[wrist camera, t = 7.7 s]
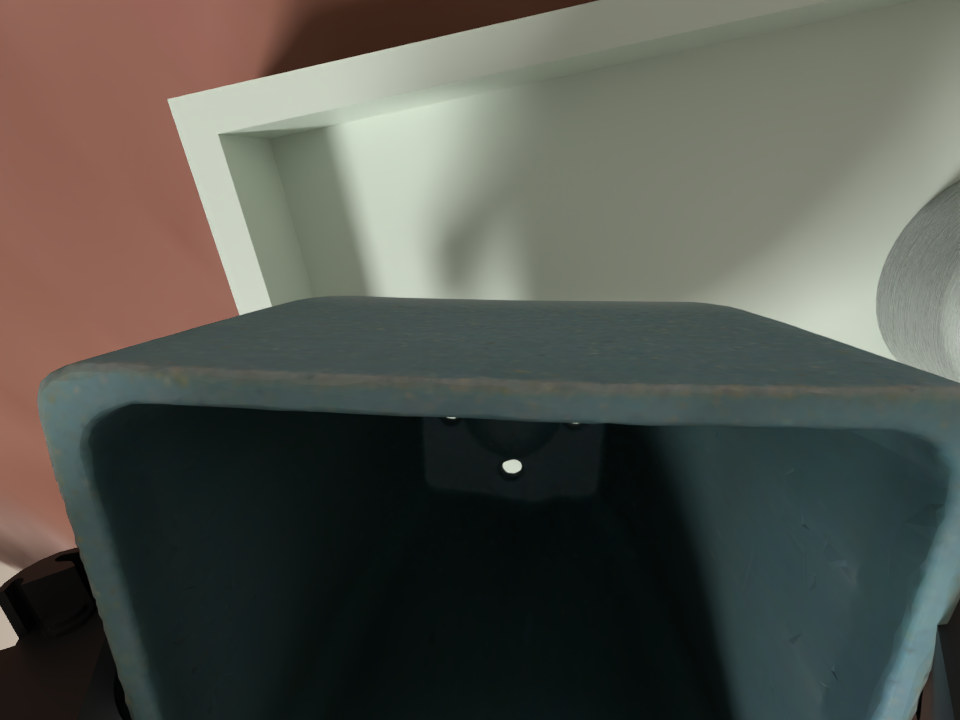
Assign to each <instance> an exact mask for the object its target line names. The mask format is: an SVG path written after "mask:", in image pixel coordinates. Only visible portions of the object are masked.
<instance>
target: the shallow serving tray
mask: <svg viewBox="0 0 960 720" xmlns="http://www.w3.org/2000/svg"><path fill="white" fill-rule="evenodd" d="M167 100H168V103H169V106H170V109H171V112H172V115H173V118H174V121H175V124H176V127H177V130H178V133H179V136H180V139H181V142H182V145H183V148H184V151H185V154H186V157H187V160H188V162H189V165H190V168H191V171H192V174H193V177H194V180H195V183H196V186H197V189H198V192H199V195H200V198H201V201H202V204H203V207H204V210H205V213H206V216H207V219H208V222H209V225H210V228H211V231H212V234H213V237H214V240H215V243H216V246H217V249H218V252H219V255H220V258H221V261H222V264H223V267H224V270H225V273H226V276H227V279H228V282H229V285H230V288H231V291H232V294H233V297H234V300H235V303H236V306H237V309H238V312H239V315H243V314H246V313H250V312H253V311H257V310H261V309H265V308H269V307H272V306H276V305H280V304H284V303H288V302H292V301H296V300H301V299H307V298H314V297H325V296H374V297H398V298H438V299H480V300H534V301H644V302H700V303H710V304H716V305H723V306H729V307H733V308H737V309H741V310H745V311H748V312H751V313H754V314H757V315H761V316H764V317H767V318H771V319H774V320H777V321H780V322H784V323H787V324H790V325H793V326H796V327H798V328H801V329H804V330H807V331H809V332H812V333H815V334H819V335H822V336H825V337H828V338H831V339H833V340H836V341H839V342H842V343H845V344H848V345H851V346H854V347H857V348H859V349H862V350H865V351H868V352H871V353H874V354H877V355H880V356H883V357H885V358H888V359H891V360H894V361H897V360H896V359H895V357H894V356H893V355H892V354H891V352H890V351H889V349H888V348H887V346H886V344H885V342H884V340H883V338H882V335H881V332H880V330H879V326H878V321H877V315H876V295H877V287H878V282H879V278H880V274H881V271H882V268H883V265H884V263H885V260H886V258H887V255H888V254H889V252H890V250H891V248H892V246H893V244H894V242H895V241H896V239H897V238H898V236H899V235H900V233H901V232H902V231H903V229H904V228H905V226H906V225H907V224H908V223H909V222H910V220H911V219H912V218H913V217H914V216H915V215H916V214H917V212H918V211H920V210H921V209H922V208H923V207H924V206H925V205H926V204H927V203H928V202H929V201H930V200H931V199H933V198H934V197H935V196H937V195H938V194H939V193H940V192H942V191H943V190H944V189H946V188H947V187H949V186H951V185H952V184H954V183H955V182H957V181H959V180H960V0H598V1H594V2H589V3H585V4H581V5H576V6H572V7H568V8H563V9H559V10H555V11H550V12H546V13H542V14H537V15H533V16H528V17H524V18H520V19H515V20H511V21H507V22H502V23H498V24H494V25H489V26H485V27H480V28H476V29H472V30H467V31H463V32H459V33H454V34H450V35H446V36H441V37H437V38H433V39H428V40H424V41H419V42H415V43H411V44H406V45H402V46H398V47H393V48H389V49H385V50H380V51H376V52H372V53H367V54H363V55H358V56H354V57H350V58H345V59H341V60H337V61H332V62H328V63H324V64H319V65H315V66H311V67H306V68H302V69H297V70H293V71H289V72H284V73H280V74H276V75H271V76H267V77H263V78H258V79H254V80H249V81H245V82H241V83H236V84H232V85H228V86H223V87H219V88H215V89H210V90H206V91H202V92H197V93H193V94H188V95H184V96H180V97H175V98H171V99H167ZM897 362H898V361H897ZM448 418H455V417H448ZM521 467H522V465H521V463H520V462H519V461H518V460H514V459H513V460H509V461H506V462H504V463H503V468H504V470H505V471H506V472H508V473H516V472H518V471H520V470H521Z"/></svg>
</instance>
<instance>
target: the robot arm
mask: <svg viewBox="0 0 960 720" xmlns="http://www.w3.org/2000/svg"><path fill="white" fill-rule="evenodd" d="M0 606H1V607H2V609H3V611H4V613H5V614H6V616H7V618H8V620H9V622H10V623H11V625H12V627H13V629H14V630H15V632H16V634H17V636H18V637H19V640H18V642H17V643H16V645H15V646H13V647H10V648H7V649H3V650H0V720H132V719H131V716H130V712H129V709H128V707H127V705H126V703H125V693H124V690H123V687H122V684H121V682H120V680H119V678H118V672H117V667H116V663H115V661H114V658H113V655H112V652H111V649H110V646H109V643H108V640H107V637H106V634H105V631H104V627H103V620H102V619H101V617H100V616H99V614H98V608H97V605H96V599H95V598H94V597H93V594H92V590H91V587H90V583H89V579H88V576H87V573H86V571H85V568H84V564H83V562H82V560H81V559H80V549H79V548H73V549H70V550H66V551H62V552H59V553H56V554H54V555H52V556H49V557H47V558H44V559H42V560H40V561H38V562H36V563H34V564H32V565H31V566H29V567H27V568H25V569H23V570H22V571H20V572H19V573H17V574H16V575H15V576H13V577H12V578H11V579H9V580H8V581H7V582H5V583H4V584H3V585H2V586H1V587H0ZM912 720H960V599H959V601H958V603H957V605H956V608H955V610H954V612H953V614H952V616H951V618H950V620H949V621H948V623H947V624H942V625H937V632H936V642H935V650H934V657H933V664H932V669H931V671H930V672H929V676H928V680H927V682H926V684H925V686H924V688H923V690H922V692H921V694H920V697H919V702H918V707H917V711H916V713H915V714H914V716H913V718H912Z"/></svg>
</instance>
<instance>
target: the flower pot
mask: <svg viewBox="0 0 960 720" xmlns="http://www.w3.org/2000/svg"><path fill="white" fill-rule="evenodd" d="M37 402H38V410H39V417H40V421H41V424H42V428H43V431H44V435H45V438H46V443H47V447H48V451H49V455H50V459H51V463H52V467H53V470H54V474H55V478H56V481H57V482H58V485H59V490H60V493H61V495H62V497H63V500H64V502H65V506H66V512H67V515H68V518H69V520H70V523H71V526H72V528H73V532H74V535H75V542H76V545H77V547H78V548H79V549H80V559H81V560H82V562H83V564H84V568H85V571H86V573H87V576H88V579H89V583H90V587H91V590H92V594H93V597H94V598H95V599H96V605H97V608H98V614H99V616H100V617H101V619H102V620H103V627H104V631H105V634H106V637H107V640H108V643H109V646H110V649H111V652H112V655H113V658H114V661H115V663H116V667H117V672H118V678H119V680H120V682H121V684H122V687H123V690H124V693H125V703H126V705H127V707H128V709H129V712H130V716H131V719H132V720H912V718H913V716H914V714H915V713H916V711H917V707H918V702H919V697H920V694H921V692H922V690H923V688H924V686H925V684H926V682H927V680H928V676H929V672H930V671H931V669H932V664H933V657H934V650H935V642H936V632H937V625H942V624H947V623H948V621H949V620H950V618H951V616H952V614H953V612H954V610H955V608H956V605H957V603H958V601H959V599H960V383H958V382H956V381H953V380H950V379H947V378H944V377H941V376H938V375H936V374H933V373H930V372H927V371H924V370H921V369H918V368H915V367H912V366H909V365H906V364H903V363H900V362H897V361H894V360H891V359H888V358H885V357H883V356H880V355H877V354H874V353H871V352H868V351H865V350H862V349H859V348H857V347H854V346H851V345H848V344H845V343H842V342H839V341H836V340H833V339H831V338H828V337H825V336H822V335H819V334H815V333H812V332H809V331H807V330H804V329H801V328H798V327H796V326H793V325H790V324H787V323H784V322H780V321H777V320H774V319H771V318H767V317H764V316H761V315H757V314H754V313H751V312H748V311H745V310H741V309H737V308H733V307H729V306H723V305H716V304H710V303H700V302H644V301H534V300H480V299H438V298H398V297H374V296H325V297H314V298H307V299H301V300H296V301H292V302H288V303H284V304H280V305H276V306H272V307H269V308H265V309H261V310H257V311H253V312H250V313H246V314H243V315H239V316H236V317H233V318H229V319H226V320H222V321H218V322H215V323H211V324H207V325H204V326H200V327H197V328H193V329H190V330H186V331H183V332H180V333H176V334H173V335H169V336H166V337H162V338H158V339H155V340H151V341H148V342H144V343H141V344H137V345H134V346H130V347H127V348H124V349H120V350H117V351H113V352H110V353H106V354H103V355H100V356H96V357H93V358H89V359H86V360H82V361H79V362H76V363H72V364H69V365H66V366H64V367H62V368H60V369H58V370H56V371H53V372H51V373H50V374H49V375H48V376H47V377H46V378H45V379H44V380H42V381H41V383H40V387H39V390H38V398H37ZM448 417H455V418H448ZM513 459H514V460H518V461H519V462H520V463H521V465H522V467H521V470H520V471H518V472H516V473H508V472H506V471H505V470H504V468H503V463H504V462H506V461H509V460H513Z"/></svg>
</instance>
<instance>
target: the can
mask: <svg viewBox="0 0 960 720" xmlns="http://www.w3.org/2000/svg"><path fill="white" fill-rule="evenodd" d="M876 315H877V321H878V326H879V330H880V332H881V335H882V338H883V340H884V342H885V344H886V346H887V348H888V349H889V351H890V352H891V354H892V355H893V356H894V357H895V359H896V360H897V361H898V362H900V363H903V364H906V365H909V366H912V367H915V368H918V369H921V370H924V371H927V372H930V373H933V374H936V375H938V376H941V377H944V378H947V379H950V380H953V381H956V382H958V383H960V180H959V181H957V182H955V183H954V184H952V185H951V186H949V187H947V188H946V189H944V190H943V191H942V192H940V193H939V194H938V195H937V196H935V197H934V198H933V199H931V200H930V201H929V202H928V203H927V204H926V205H925V206H924V207H923V208H922V209H921V210H920V211H918V212H917V214H916V215H915V216H914V217H913V218H912V219H911V220H910V222H909V223H908V224H907V225H906V226H905V228H904V229H903V231H902V232H901V233H900V235H899V236H898V238H897V239H896V241H895V242H894V244H893V246H892V248H891V250H890V252H889V254H888V255H887V258H886V260H885V263H884V265H883V268H882V271H881V274H880V278H879V282H878V287H877V295H876Z"/></svg>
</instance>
